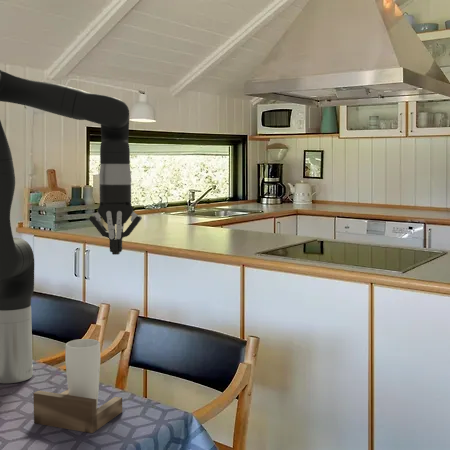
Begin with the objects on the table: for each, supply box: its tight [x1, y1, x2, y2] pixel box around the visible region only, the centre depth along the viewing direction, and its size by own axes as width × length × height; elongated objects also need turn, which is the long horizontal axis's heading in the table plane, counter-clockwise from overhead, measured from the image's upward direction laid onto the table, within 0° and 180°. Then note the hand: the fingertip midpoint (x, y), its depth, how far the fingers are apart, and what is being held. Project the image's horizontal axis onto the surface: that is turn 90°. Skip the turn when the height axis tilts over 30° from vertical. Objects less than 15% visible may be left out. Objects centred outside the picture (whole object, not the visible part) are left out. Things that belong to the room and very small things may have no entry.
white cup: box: [64, 338, 101, 408], centre depth 122 cm, size 7×7×15 cm
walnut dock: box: [32, 388, 123, 434], centre depth 121 cm, size 11×13×6 cm
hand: (116, 254), depth 149 cm, fingers closed
